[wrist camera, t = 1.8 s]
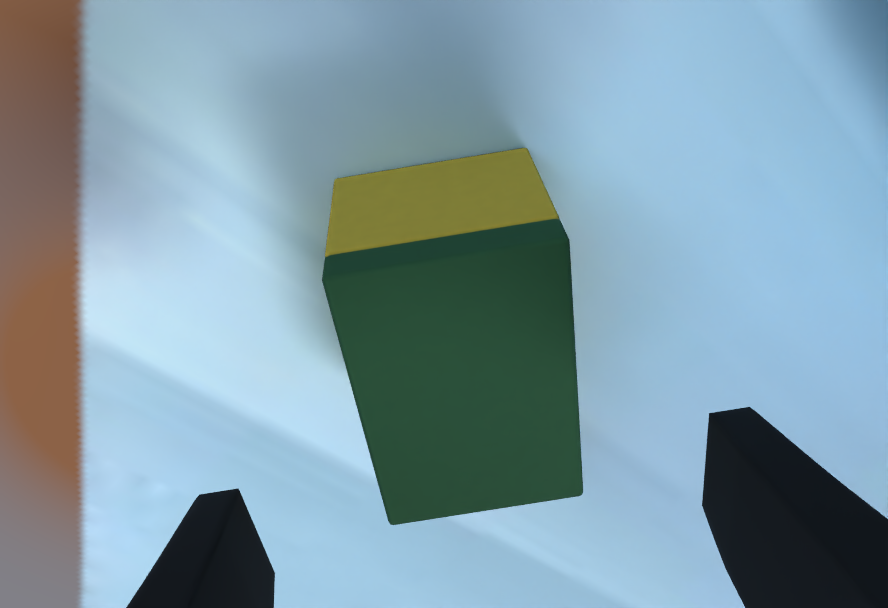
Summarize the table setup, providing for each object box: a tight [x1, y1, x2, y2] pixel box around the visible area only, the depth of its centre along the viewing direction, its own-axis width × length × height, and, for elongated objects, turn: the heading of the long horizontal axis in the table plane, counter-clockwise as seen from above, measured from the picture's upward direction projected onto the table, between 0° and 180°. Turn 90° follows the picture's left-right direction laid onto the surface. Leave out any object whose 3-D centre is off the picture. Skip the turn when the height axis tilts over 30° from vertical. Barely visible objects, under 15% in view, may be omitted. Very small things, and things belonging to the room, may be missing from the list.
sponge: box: [322, 148, 583, 525], centre depth 15 cm, size 4×6×4 cm, turn 8°
